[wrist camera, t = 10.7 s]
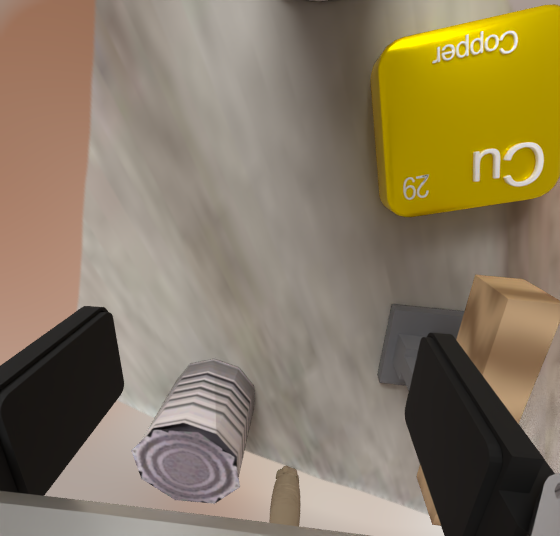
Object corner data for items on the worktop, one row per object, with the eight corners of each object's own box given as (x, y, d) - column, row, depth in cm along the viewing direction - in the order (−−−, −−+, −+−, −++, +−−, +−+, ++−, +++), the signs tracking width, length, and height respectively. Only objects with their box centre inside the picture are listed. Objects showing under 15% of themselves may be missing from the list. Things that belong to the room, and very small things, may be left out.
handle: (312, 482, 49) (312, 616, 35) (270, 485, 50) (254, 616, 36) (306, 458, 47) (304, 588, 33) (263, 462, 48) (244, 589, 34)
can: (273, 390, 44) (260, 472, 33) (226, 438, 47) (200, 527, 36) (203, 342, 42) (164, 411, 31) (160, 395, 46) (112, 474, 35)
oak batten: (475, 274, 28) (508, 299, 23) (523, 279, 28) (566, 304, 23) (416, 476, 36) (432, 524, 31) (453, 481, 36) (474, 530, 31)
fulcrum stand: (391, 304, 38) (411, 340, 31) (497, 314, 37) (544, 355, 30) (377, 374, 42) (392, 423, 34) (474, 385, 41) (511, 438, 33)
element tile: (541, 18, 29) (584, -8, 24) (530, 190, 33) (564, 196, 29) (367, 56, 31) (377, 40, 26) (380, 213, 35) (390, 222, 31)
